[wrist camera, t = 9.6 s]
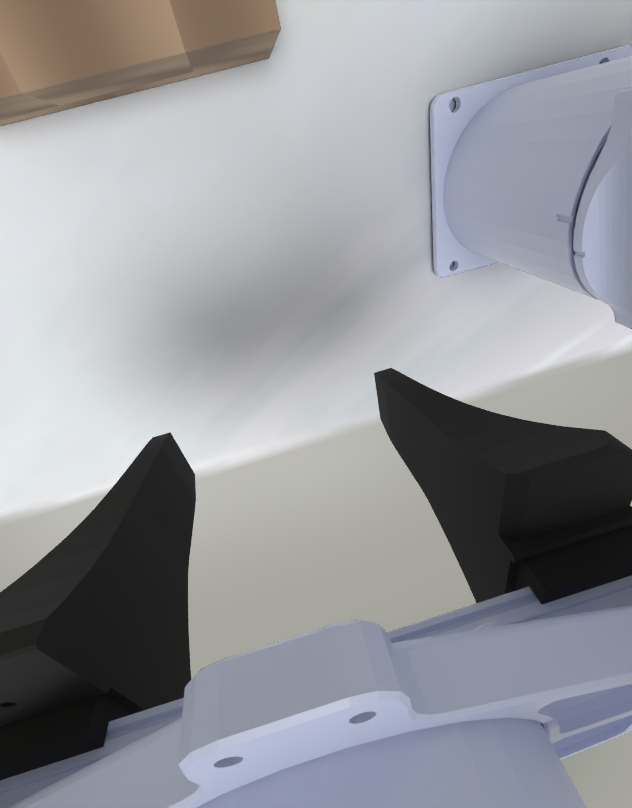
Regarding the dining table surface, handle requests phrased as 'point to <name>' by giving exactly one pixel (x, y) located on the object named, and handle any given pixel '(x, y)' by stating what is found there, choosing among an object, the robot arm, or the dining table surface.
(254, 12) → the socket holder
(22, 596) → the robot arm
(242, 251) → the dining table surface
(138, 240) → the dining table surface
